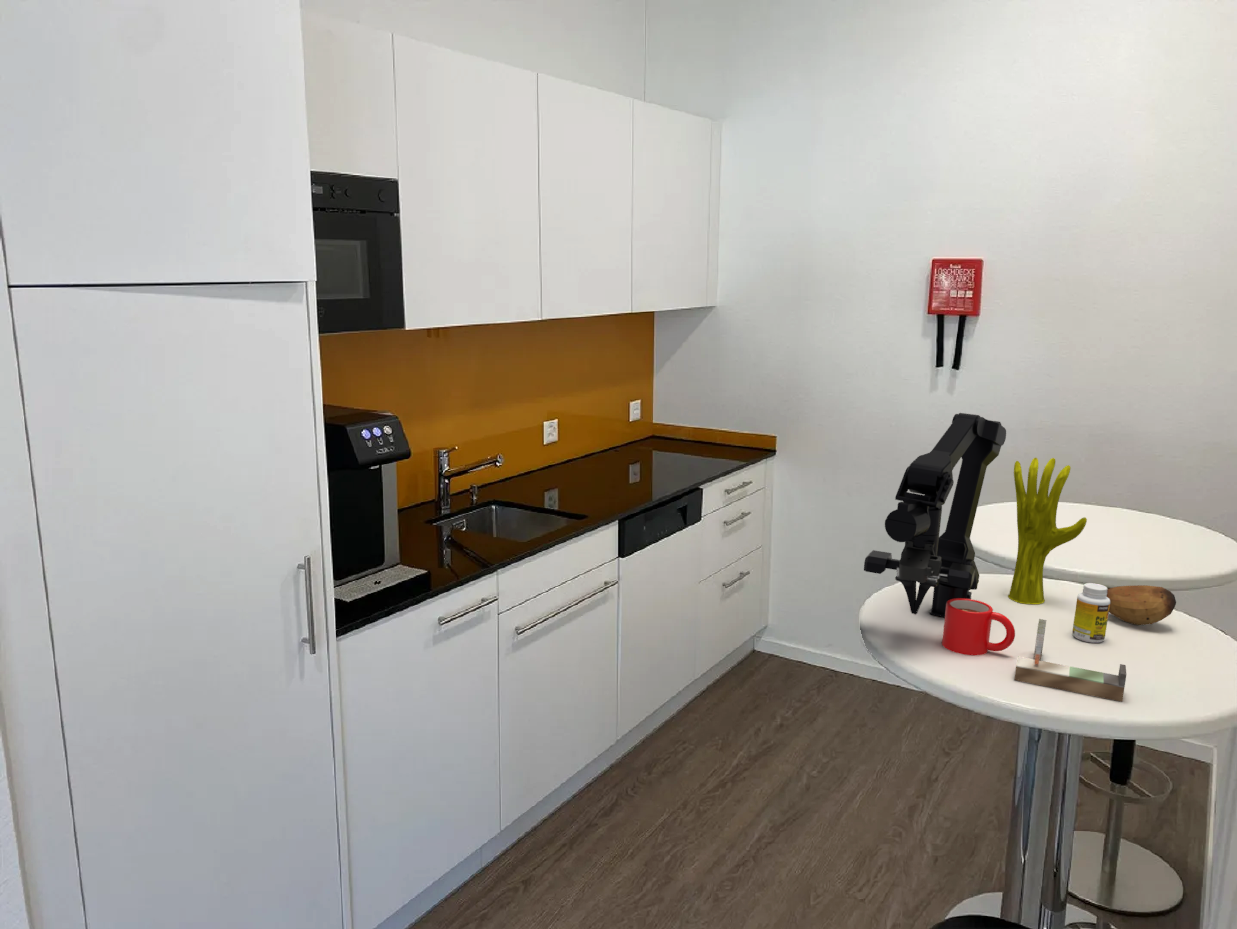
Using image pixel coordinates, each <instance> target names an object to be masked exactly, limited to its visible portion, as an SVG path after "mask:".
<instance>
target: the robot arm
mask: <svg viewBox="0 0 1237 929" xmlns="http://www.w3.org/2000/svg"><path fill="white" fill-rule="evenodd" d="M1006 438H1007V429H1006V428H1005V427H1004V426H1003V425H1002V423H1001V421H999V420H998V421H996V420H990V419H986V418H984V417H983V416H981V415H980V414H972V413H966V412H965V413H964V412H959V413H955V414H954V415H953V417H952V420H951V424H950V425H949V427H948V428H947V429H946V430H945V432H944V433H943V435H942V436H941V437H940V439H939V440H938V441H937V443H936V444H935V445H934V447H933V448H932V449H931V451H930V452H927V453H925V454H922V455H918V456H917V457H916V458H915V459H914V460H913V461H912V462H910V464H909V466H907V468H906V470H904V474H903V476H902V478H901V481H900V484H899V487H898V489H897V492H896V495H895V497H894V500H895V501H900V502H898V503H897V509H895V510H892V511H890V512H889V513H888V515H887V516H886V518H885V520H884V528H885V532H886V533H887V535H888V536H889V537H890V539H892V540H893V541H895V542H897V543H904V547H903V549H902V551H901V554H900V559H896V558H893V557H892V556H893V555H892V553H891V552H886V551H880V550H874V549H873V550H872V551H870V552H869V553H868V555H866V557H865V559H864V562H863V563H864V565H863V571H864V572H866V573H873V574H879V575H881V574H883V573H884V572H885V571H886V569H889V570H894V571H896V572H895V573H896V576H895V577H894V580H896V581H897V582H900V583H901V585H902V586H903V588H904V590H905V592H906V593H905V594H906V597H907V601H908V605H909V609H910V612H911V614H912V615H917V614H918V612H919V609H920V607H921V605H922V602H923V600H924V598H925V597H926V594H927V592H928V591H929V590H930V588H931V587H933V592H932V593H933V594H932V602H931V603H932V604H931V609H930V611H929V615H931V616H937V617H943V618H945V611H946V603H947V601H948V600H950V599H956V598H965V599H972V594H973V592H972V591H973V590H977V589H978V585H979V582H980V581H979V580H980V573H979V570H978V567H977V564H976V562H975V556H976V551H975V549H974V546H973V543H972V541H971V534H972V530H973V526H974V523H975V522H974V521H975V518H976V514H977V509H978V505H979V502H980V497H981V492H982V488H983V484H984V480H985V475H986V472H987V467H988V466H989V465H990V464H991V463H992V462H993V461H994V460H995V459H996V458H998V456H999V455H1000V451H1001V449H1002V446H1004V444H1005V442H1006ZM960 459H962V460H961V464H960V469H959V473H958V477H957V480H956V481H957V482H956V486H955V490H954V494H953V497H952V500H951V501H952V502H951V506H950V510H949V514H948V518H947V519H948V520H947V521H946V522H947V523H946V526H945V530H944V532H943V533H942V534H941V535H940V531H941V530H940V529H941V522H942V512H943V506H944V505H945V504H946V501H947V500H948V496H949V494H950V493H951V490H952V488H953V487H954V477H953V476H954V475H953V470H954V468H955V467H956V465H957V464H958V463H959V461H960ZM917 583H919V586H918V591H917ZM971 590H972V591H971Z"/></svg>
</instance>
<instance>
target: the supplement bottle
mask: <svg viewBox="0 0 1237 929" xmlns="http://www.w3.org/2000/svg"><path fill="white" fill-rule="evenodd" d="M1107 589H1108V587H1107V586H1105V585H1103V584H1100V583H1099V584H1098V583H1094V582H1093V583H1092V582H1087V583H1084V584H1083V589H1082V592H1080V593H1078V595H1077V596H1076V603H1075V611H1074V618H1073V624H1072V631H1071V632H1072V636H1073V637H1074V638H1075V639H1077V640H1079V641H1083V642H1086V643H1092V644H1096V643H1098V644H1099V643H1102V642H1103V641H1105V640H1106V639H1105V637H1106V632H1107V627H1108V620H1109V614H1110V613H1109V608H1110V599H1109V598H1108V597H1106V596H1107Z"/></svg>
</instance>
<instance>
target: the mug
mask: <svg viewBox="0 0 1237 929" xmlns="http://www.w3.org/2000/svg"><path fill="white" fill-rule="evenodd" d="M992 621H996V622H998V623H1000V624H1001V625H1002V626H1003V627H1004V629H1005V631H1006V633H1005V638H1003V639H1002V641H1000V642H990V639H991V638H990V636H991V627H992ZM1015 637H1016V629H1015V626H1014V625H1013V623H1012V621H1011V620H1010V619H1009V617H1007V616H1006V615H1004V614H1002V613H999V612H996V611H994V608H993V607H992V606H991V605H990V604H989V603H986V602H984V601H980V600H977V599H972V598H971V599H965V598H956V599H950V600H948V601H947V603H946V611H945V617H944V623H943V629H942V640H941V645H942V646H943V648H945V649H946V650H948V651H950V652H952V653H956V654H961V655H965V656H982V655H985V654H988V652H1001V651H1003V650H1006V649H1008V648H1009V647H1010V646H1011V645H1012V644H1013V643H1014V641H1015Z"/></svg>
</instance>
